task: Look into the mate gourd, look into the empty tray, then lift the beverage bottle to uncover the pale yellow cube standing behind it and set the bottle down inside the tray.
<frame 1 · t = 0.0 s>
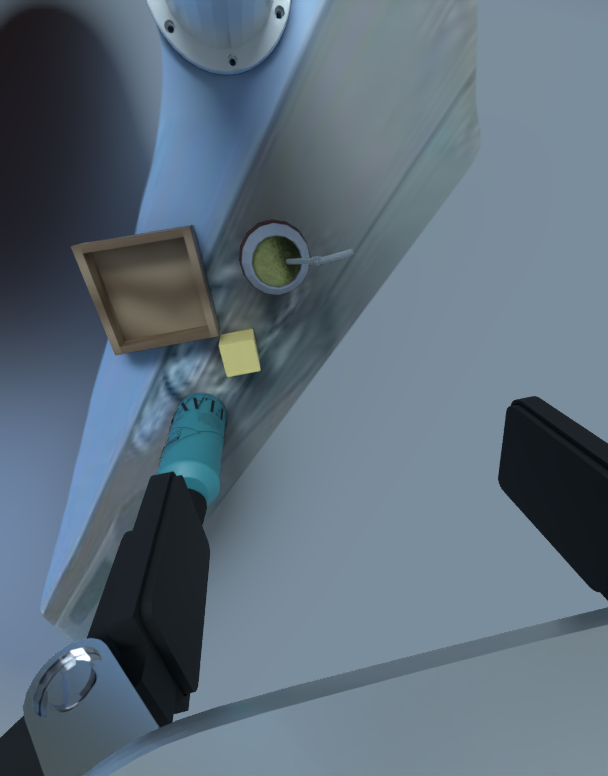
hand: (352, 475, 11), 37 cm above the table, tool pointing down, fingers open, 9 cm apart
beverage bottle: (202, 407, 50), on the table
tray: (155, 288, 42), on the table
mate gourd: (274, 249, 43), on the table
pale yellow cube: (240, 346, 47), on the table
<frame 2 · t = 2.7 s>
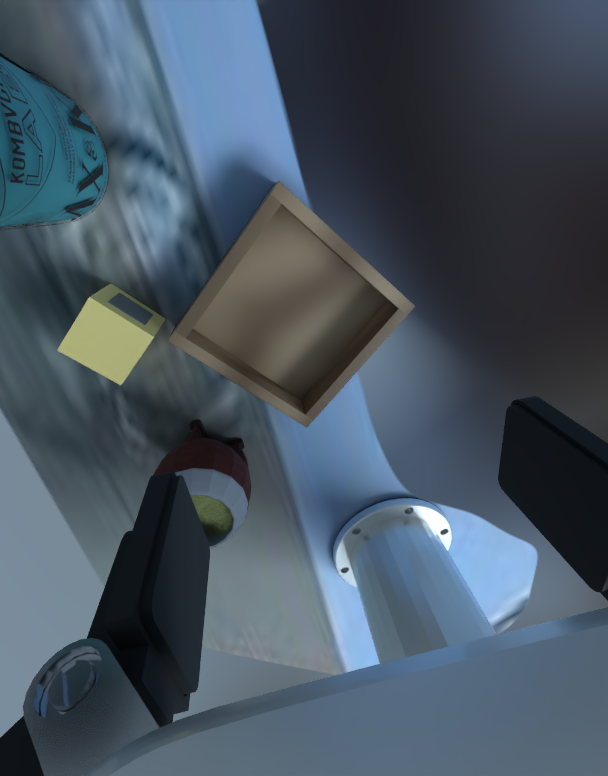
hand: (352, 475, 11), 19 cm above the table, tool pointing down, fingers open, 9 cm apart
beverage bottle: (61, 157, 22), on the table
tray: (289, 311, 27), on the table
mate gourd: (206, 453, 32), on the table
pale yellow cube: (124, 324, 26), on the table
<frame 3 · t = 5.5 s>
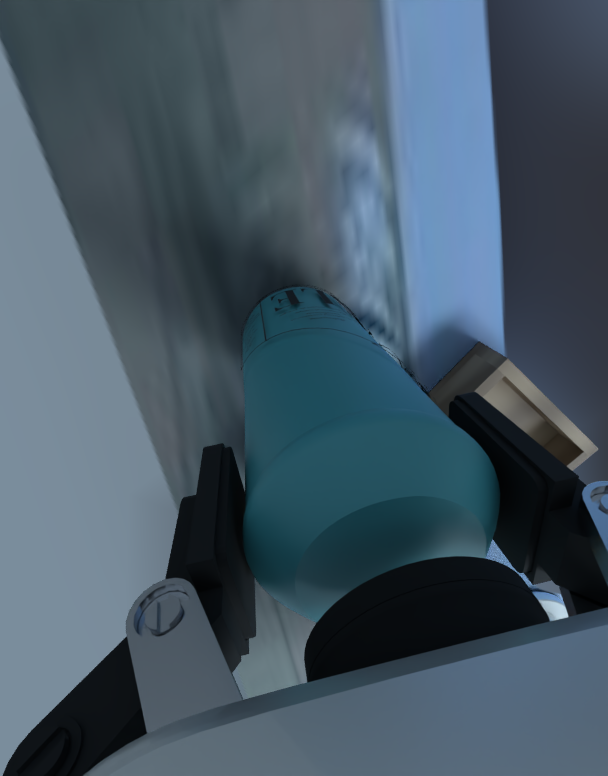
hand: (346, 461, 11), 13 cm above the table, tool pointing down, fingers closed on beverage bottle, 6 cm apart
beverage bottle: (294, 329, 23), on the table, touching gripper
tray: (466, 443, 28), on the table
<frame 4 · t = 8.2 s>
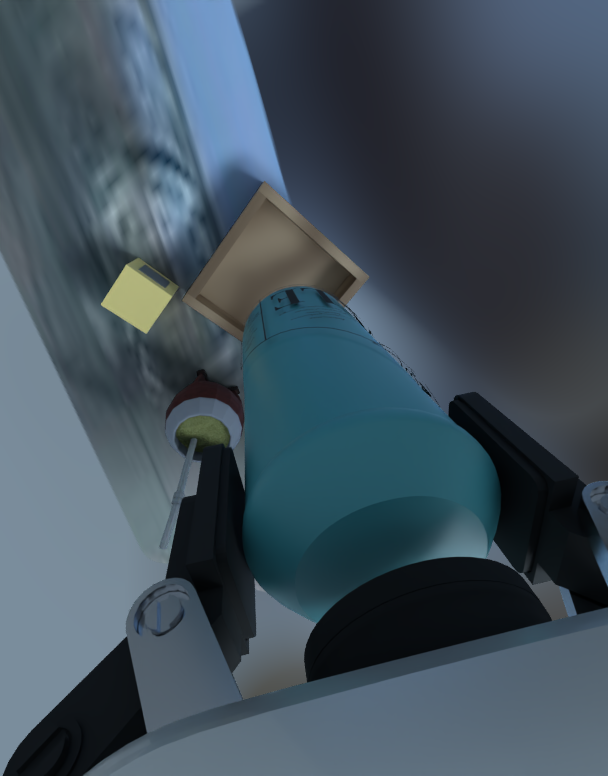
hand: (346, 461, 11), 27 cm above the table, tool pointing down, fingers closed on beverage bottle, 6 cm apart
beverage bottle: (294, 329, 23), point 14 cm above the table, touching gripper
tray: (274, 281, 35), on the table
mate gourd: (209, 399, 40), on the table
pale yellow cube: (147, 290, 34), on the table
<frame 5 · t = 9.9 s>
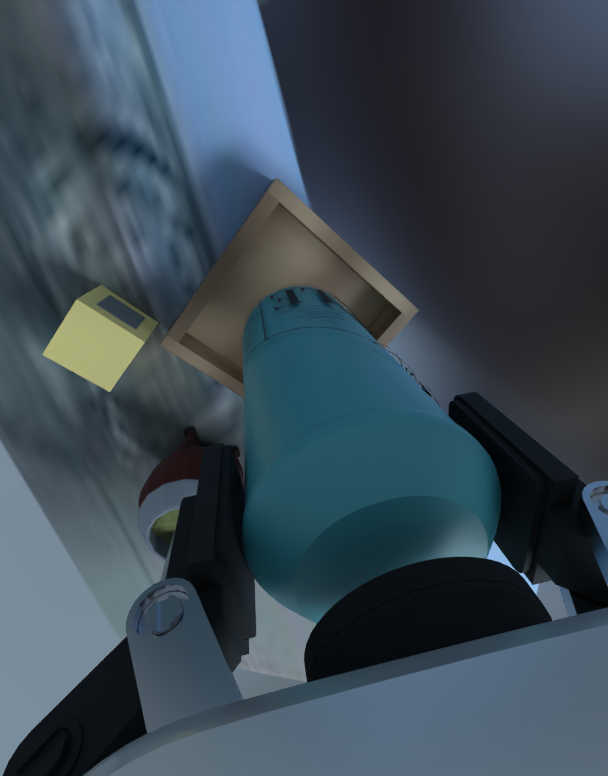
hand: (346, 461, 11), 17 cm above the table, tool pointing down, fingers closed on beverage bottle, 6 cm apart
beverage bottle: (294, 329, 23), point 4 cm above the table, touching gripper
tray: (288, 314, 26), on the table
mate gourd: (200, 462, 31), on the table
pale yellow cube: (115, 327, 25), on the table
when the fingers open (14 cm above the table, at t = 10.9 s): beverage bottle drops 1 cm, resting on tray.
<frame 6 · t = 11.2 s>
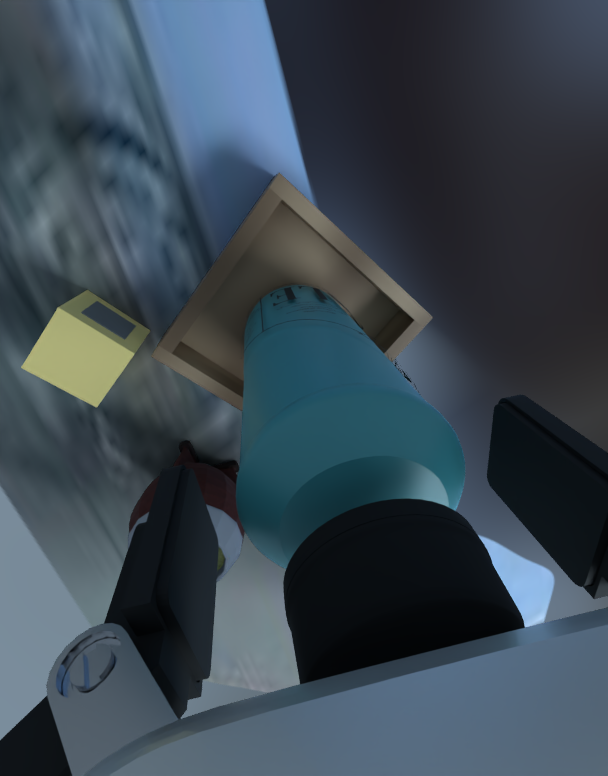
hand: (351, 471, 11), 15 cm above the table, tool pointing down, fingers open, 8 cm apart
beverage bottle: (293, 326, 24), resting on tray
tray: (290, 321, 24), on the table
mate gourd: (197, 477, 29), on the table
pale yellow cube: (103, 335, 23), on the table
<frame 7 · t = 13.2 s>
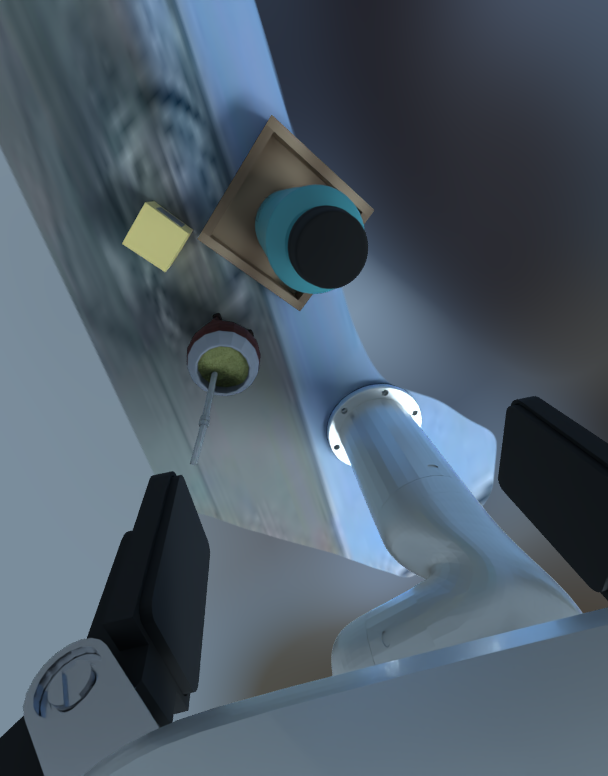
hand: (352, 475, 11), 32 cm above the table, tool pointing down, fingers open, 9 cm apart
beverage bottle: (285, 224, 37), resting on tray
tray: (283, 221, 37), on the table
mate gourd: (224, 343, 42), on the table
pale yellow cube: (163, 234, 36), on the table
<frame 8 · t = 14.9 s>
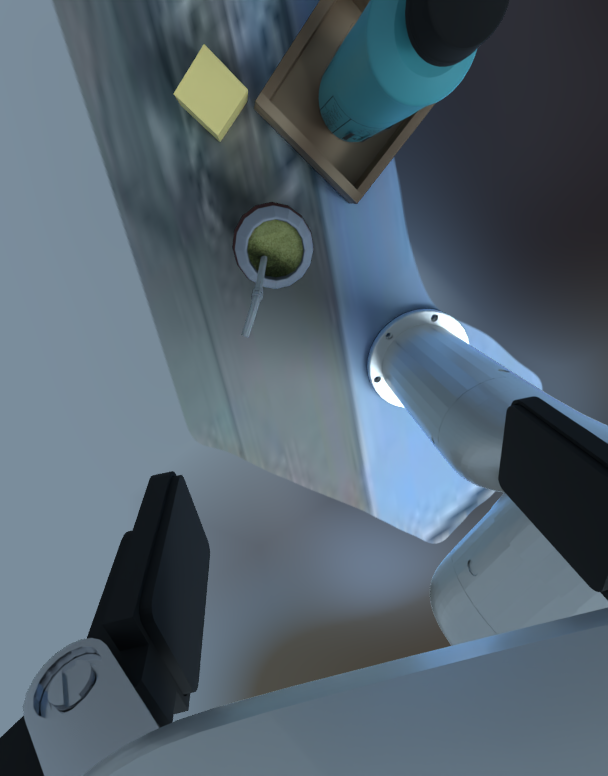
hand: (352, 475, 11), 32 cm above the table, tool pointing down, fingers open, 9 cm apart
beverage bottle: (348, 103, 33), resting on tray
tray: (345, 101, 34), on the table
mate gourd: (268, 246, 38), on the table
pale yellow cube: (214, 103, 32), on the table
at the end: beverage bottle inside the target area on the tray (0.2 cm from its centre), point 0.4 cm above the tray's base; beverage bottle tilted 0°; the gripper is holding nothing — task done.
